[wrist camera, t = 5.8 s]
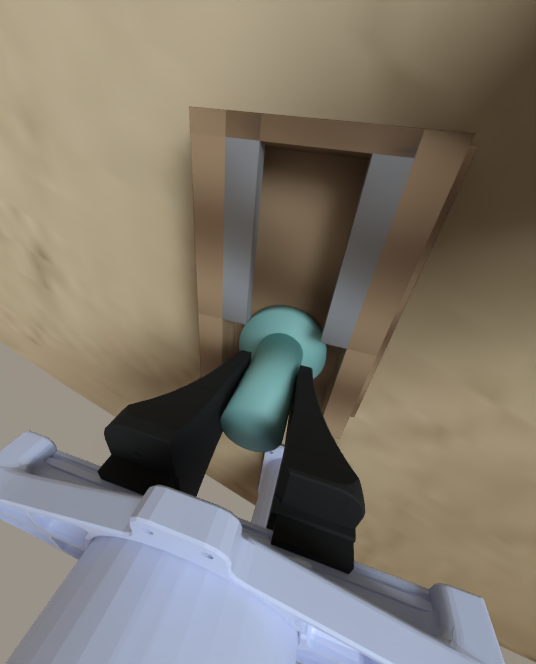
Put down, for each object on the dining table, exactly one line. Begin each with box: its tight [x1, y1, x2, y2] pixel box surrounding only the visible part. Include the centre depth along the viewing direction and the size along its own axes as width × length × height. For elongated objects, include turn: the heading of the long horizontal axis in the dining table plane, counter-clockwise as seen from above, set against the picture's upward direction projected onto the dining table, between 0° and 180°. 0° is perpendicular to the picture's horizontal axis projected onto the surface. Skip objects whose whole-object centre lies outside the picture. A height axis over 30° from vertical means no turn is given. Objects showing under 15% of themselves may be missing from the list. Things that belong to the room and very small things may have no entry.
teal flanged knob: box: [220, 305, 327, 452], centre depth 13 cm, size 6×6×7 cm
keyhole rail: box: [189, 106, 478, 439], centre depth 14 cm, size 16×12×3 cm
